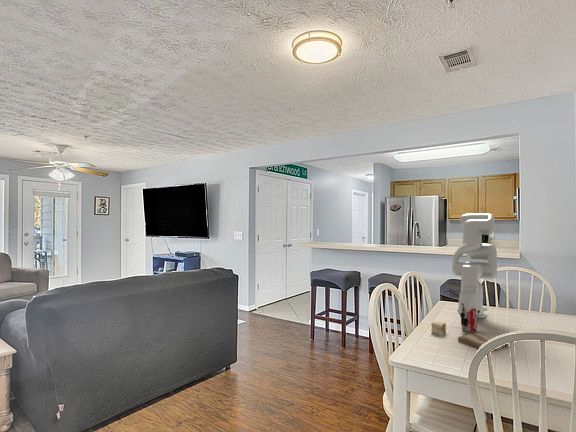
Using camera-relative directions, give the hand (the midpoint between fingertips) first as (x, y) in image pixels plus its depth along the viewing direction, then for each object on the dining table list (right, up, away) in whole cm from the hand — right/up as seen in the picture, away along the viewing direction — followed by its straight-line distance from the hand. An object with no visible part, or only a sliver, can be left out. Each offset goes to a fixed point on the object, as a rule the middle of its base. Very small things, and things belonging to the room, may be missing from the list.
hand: (469, 324), depth 171 cm
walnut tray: (-4, -3, -18) cm, 19 cm away
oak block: (-17, -3, -3) cm, 18 cm away
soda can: (0, -4, 0) cm, 4 cm away
